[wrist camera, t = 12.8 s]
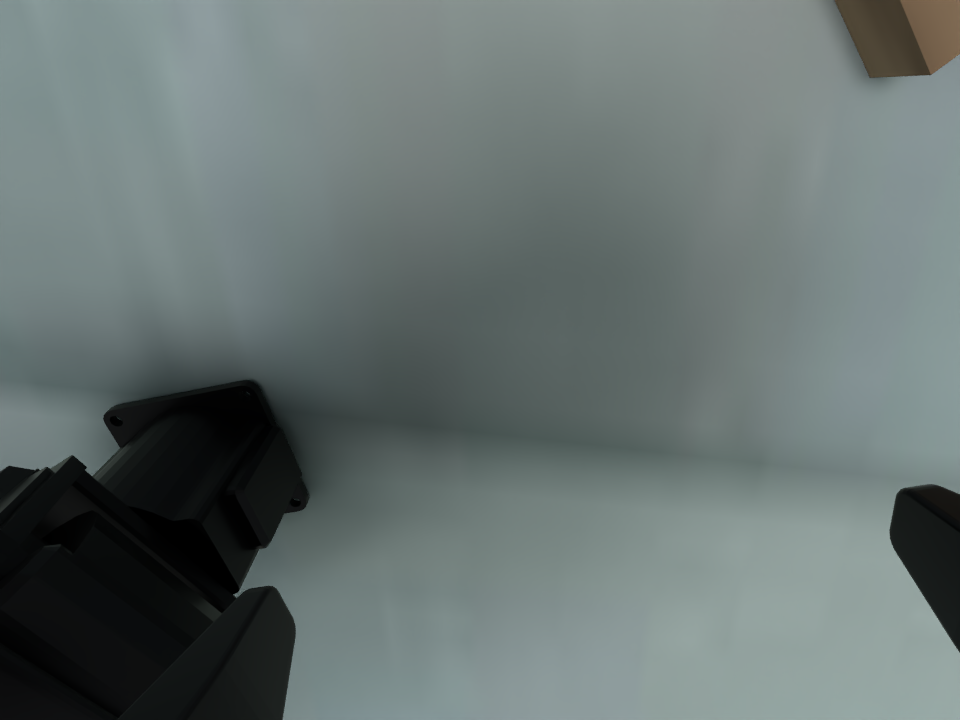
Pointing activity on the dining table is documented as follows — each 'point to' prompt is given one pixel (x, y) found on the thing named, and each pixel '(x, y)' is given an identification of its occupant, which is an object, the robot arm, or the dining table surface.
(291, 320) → the dining table surface
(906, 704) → the dining table surface
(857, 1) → the walnut slab
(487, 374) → the dining table surface
